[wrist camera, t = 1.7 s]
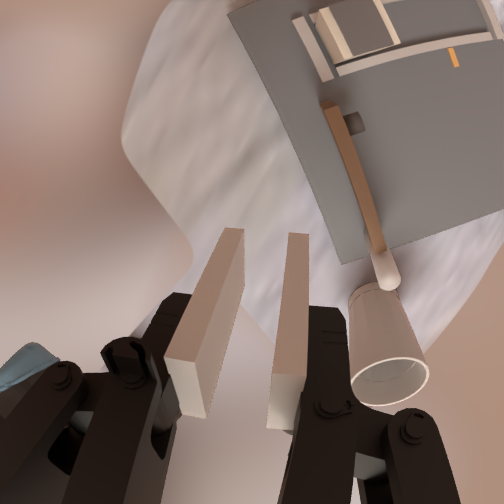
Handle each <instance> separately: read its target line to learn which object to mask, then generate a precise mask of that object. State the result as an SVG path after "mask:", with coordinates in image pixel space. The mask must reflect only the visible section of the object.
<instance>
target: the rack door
mask: <svg viewBox="0 0 504 504" xmlns="http://www.w3.org/2000/svg"><path fill="white" fill-rule="evenodd" d="M319 105H320V107H321V110H322V112H323V114H324V117H325V119H326V121H327V124H328V126H329V128H330V131H331V133H332V136H333V138H334V141H335V143H336V146H337V148H338V151H339V153H340V156H341V158H342V161H343V164H344V166H345V169H346V172H347V174H348V177H349V180H350V183H351V186H352V188H353V191H354V194H355V197H356V200H357V203H358V206H359V209H360V212H361V215H362V218H363V221H364V224H365V226H366V229H367V232H368V235H369V238H370V240H371V243H372V246H373V249H374V252H375V255H376V254H379V253H382V252H385V251H387V248H386V244H385V240H384V237H383V233H382V229H381V226H380V222H379V219H378V216H377V212H376V209H375V206H374V202H373V199H372V196H371V193H370V190H369V187H368V184H367V181H366V178H365V175H364V172H363V169H362V166H361V163H360V160H359V158H358V155H357V152H356V149H355V147H354V144H353V141H352V139H351V136H352V135H355V134H358V133H361V132H364V131H366V130H365V126H364V123H363V121H362V118H361V116H360V114H359V112H358V111H356V112H353V113H350V114H347V115H345V116H342V114H341V111H340V109H339V106H338V105H337V104H336V103H334V102H333V101H331V100H328V101H325V102H322V103H320V104H319Z"/></svg>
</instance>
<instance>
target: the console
mask: <svg viewBox="0 0 504 504" xmlns="http://www.w3.org/2000/svg"><path fill="white" fill-rule="evenodd" d="M342 1H346V0H258V1H256V2H254V3H251V4H249V5H247V6H244V7H242V8H240V9H238V10H236V11H233V12H231V13H229V14H227V16H228V18H229V20H230V22H231V23H232V25H233V27H234V29H235V31H236V32H237V34H238V36H239V38H240V40H241V41H242V43H243V45H244V47H245V49H246V51H247V53H248V54H249V56H250V58H251V60H252V62H253V64H254V66H255V68H256V70H257V72H258V74H259V76H260V78H261V80H262V82H263V84H264V86H265V88H266V90H267V92H268V94H269V96H270V98H271V100H272V102H273V104H274V106H275V108H276V110H277V112H278V114H279V116H280V119H281V121H282V123H283V125H284V127H285V129H286V131H287V134H288V136H289V138H290V140H291V142H292V145H293V147H294V149H295V151H296V154H297V156H298V158H299V160H300V163H301V165H302V167H303V170H304V172H305V174H306V177H307V179H308V181H309V184H310V186H311V188H312V191H313V193H314V196H315V198H316V201H317V203H318V206H319V208H320V210H321V213H322V216H323V218H324V221H325V223H326V226H327V228H328V231H329V233H330V236H331V239H332V241H333V244H334V247H335V249H336V252H337V255H338V257H339V260H340V263H341V265H342V264H346V263H349V262H352V261H355V260H358V259H361V258H364V257H367V256H370V257H371V260H372V263H373V266H374V270H375V273H376V277H377V280H378V284H379V286H380V288H381V289H383V290H386V291H390V290H393V289H395V288H397V287H398V286H399V284H400V282H401V276H400V274H399V271H398V269H397V266H396V264H395V261H394V259H393V256H392V254H391V252H390V249H392V248H395V247H398V246H401V245H404V244H407V243H410V242H413V241H416V240H419V239H422V238H424V237H427V236H430V235H433V234H436V233H439V232H442V231H445V230H447V229H450V228H453V227H456V226H459V225H461V224H464V223H467V222H470V221H472V220H475V219H478V218H481V217H483V216H486V215H489V214H491V213H494V212H497V211H499V210H502V209H504V40H503V39H504V35H503V32H502V30H501V27H500V24H499V22H498V19H497V17H496V14H495V12H494V10H493V7H492V5H491V3H490V1H489V0H380V1H381V3H382V5H383V7H384V9H385V11H386V13H387V15H388V17H389V19H390V21H391V23H392V25H393V27H394V29H395V31H396V33H397V36H398V38H399V40H400V42H401V43H400V44H397V45H394V46H391V47H388V48H385V49H382V50H379V51H376V52H373V53H369V54H366V55H362V56H359V57H356V58H353V59H349V60H346V61H343V62H340V63H337V64H334V65H333V63H332V60H331V58H330V56H329V54H328V52H327V50H326V48H325V46H324V44H323V42H322V40H321V38H320V36H319V34H318V32H317V30H316V28H315V24H316V20H317V16H318V12H319V10H320V9H323V8H326V7H328V5H332V4H335V3H338V2H342ZM328 100H331V101H333V102H334V103H336V104H337V105H338V106H339V109H340V111H341V114H342V116H345V115H347V114H350V113H353V112H356V111H358V112H359V114H360V116H361V118H362V121H363V123H364V126H365V130H366V131H364V132H361V133H358V134H355V135H352V136H351V139H352V141H353V144H354V147H355V149H356V152H357V155H358V158H359V160H360V163H361V166H362V169H363V172H364V175H365V178H366V181H367V184H368V187H369V190H370V193H371V196H372V199H373V202H374V206H375V209H376V212H377V216H378V219H379V222H380V226H381V229H382V233H383V237H384V240H385V244H386V248H387V251H385V252H382V253H379V254H376V255H375V252H374V249H373V246H372V243H371V240H370V238H369V235H368V232H367V229H366V226H365V224H364V221H363V218H362V215H361V212H360V209H359V206H358V203H357V200H356V197H355V194H354V191H353V188H352V186H351V183H350V180H349V177H348V174H347V172H346V169H345V166H344V164H343V161H342V158H341V156H340V153H339V151H338V148H337V146H336V143H335V141H334V138H333V136H332V133H331V131H330V128H329V126H328V124H327V121H326V119H325V117H324V114H323V112H322V110H321V107H320V105H319V104H320V103H322V102H325V101H328Z"/></svg>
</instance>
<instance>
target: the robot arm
mask: <svg viewBox="0 0 504 504" xmlns="http://www.w3.org/2000/svg"><path fill="white" fill-rule="evenodd" d="M244 286H245V281H244V229H238V228H225V229H224V231H223V233H222V235H221V237H220V239H219V241H218V243H217V245H216V247H215V249H214V251H213V253H212V255H211V257H210V259H209V261H208V263H207V265H206V267H205V269H204V272H203V274H202V276H201V278H200V280H199V282H198V284H197V286H196V288H195V290H194V292H193V295H192V294H184V293H176V292H173V293H172V294H171V295H169V296H168V297H167V298H166V299H164V300H163V301H162V303H161V304H160V306H159V308H158V310H157V312H156V315H154V317H153V319H152V320H151V324H149V326H148V328H147V330H146V331H145V333H144V335H143V337H142V339H138V338H135V337H122V338H118V339H115V340H113V341H111V342H110V343H108V344H107V345H105V347H104V348H103V349H102V351H101V352H100V353H101V356H102V358H103V360H104V362H105V364H106V366H107V368H108V370H109V372H105V373H82V371H81V369H80V367H78V366H77V365H76V364H75V363H73V362H70V361H60V359H59V358H58V357H57V358H56V357H55V356H54V355H52V354H51V353H50V352H49V351H47V350H46V349H45V348H44V347H43V346H41V345H40V344H38V343H34V342H31V343H28V344H26V345H24V346H23V347H22V348H21V349H20V350H18V351H17V352H16V353H15V354H14V355H13V356H12V357H11V358H10V359H9V360H8V361H7V362H6V363H5V364H4V365H3V366H2V367H1V368H0V504H160V503H161V498H162V493H163V489H164V484H165V479H166V474H167V470H168V465H169V461H170V456H171V451H172V447H173V443H174V438H175V434H176V429H177V428H176V427H177V426H176V422H177V420H178V419H179V418H180V417H181V415H182V414H184V415H189V416H194V417H199V418H204V419H207V416H208V413H209V409H210V405H211V402H212V399H213V395H214V392H215V388H216V385H217V381H218V378H219V374H220V371H221V367H222V364H223V360H224V356H225V353H226V349H227V346H228V342H229V339H230V335H231V332H232V328H233V325H234V321H235V318H236V314H237V310H238V307H239V303H240V300H241V296H242V293H243V289H244ZM347 344H348V340H347V330H346V320H345V318H344V316H343V315H342V313H341V312H340V310H339V309H338V308H335V307H321V306H309V234H302V233H290V232H289V237H288V247H287V256H286V265H285V274H284V282H283V291H282V299H281V307H280V315H279V323H278V331H277V339H276V346H275V354H274V361H273V368H272V376H271V387H270V398H269V408H268V418H267V428H274V429H284V430H293V439H292V443H291V446H290V450H289V453H288V460H287V465H286V469H285V473H284V478H283V482H282V486H281V490H280V495H279V498H278V503H277V504H350V502H351V494H352V486H353V477H356V478H357V482H358V488H359V494H360V500H361V504H461V503H460V499H459V495H458V491H457V488H456V484H455V481H454V477H453V474H452V470H451V467H450V464H449V460H448V458H447V454H446V451H445V448H444V445H443V442H442V439H441V436H440V433H439V430H438V427H437V425H436V423H435V421H434V420H433V418H432V417H431V416H430V415H429V414H427V413H426V412H425V411H422V410H420V409H417V408H406V409H404V410H401V411H398V412H397V413H396V414H395V415H390V414H387V413H383V412H380V411H376V410H373V409H371V408H369V407H367V406H365V405H364V404H362V403H361V402H360V401H359V400H358V399H357V398H356V396H355V395H354V393H353V391H352V386H351V377H350V363H349V351H348V345H347Z"/></svg>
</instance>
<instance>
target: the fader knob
mask: <svg viewBox="0 0 504 504" xmlns="http://www.w3.org/2000/svg"><path fill="white" fill-rule="evenodd" d="M315 28H316V30H317V32H318V34H319V36H320V38H321V40H322V42H323V44H324V46H325V48H326V50H327V52H328V54H329V56H330V58H331V60H332V63H333V65H334V64H337V63H340V62H343V61H346V60H349V59H353V58H356V57H359V56H362V55H366V54H369V53H373V52H376V51H379V50H382V49H385V48H388V47H391V46H394V45H397V44H400V43H401V42H400V40H399V38H398V36H397V33H396V31H395V29H394V27H393V25H392V23H391V21H390V19H389V17H388V15H387V13H386V11H385V9H384V7H383V5H382V3H381V1H380V0H346V1H342V2H338V3H335V4H332V5H328V7H326V8H323V9H320V10H319V12H318V16H317V20H316V24H315Z"/></svg>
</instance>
